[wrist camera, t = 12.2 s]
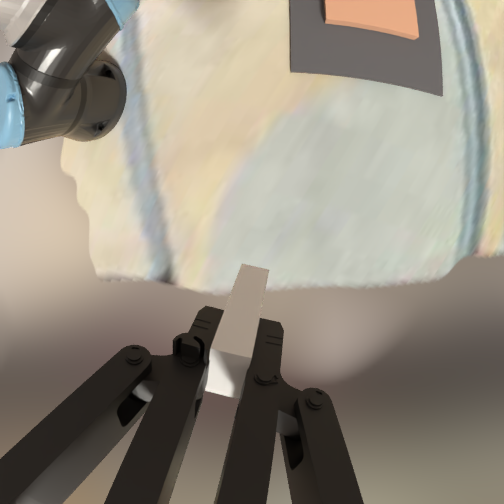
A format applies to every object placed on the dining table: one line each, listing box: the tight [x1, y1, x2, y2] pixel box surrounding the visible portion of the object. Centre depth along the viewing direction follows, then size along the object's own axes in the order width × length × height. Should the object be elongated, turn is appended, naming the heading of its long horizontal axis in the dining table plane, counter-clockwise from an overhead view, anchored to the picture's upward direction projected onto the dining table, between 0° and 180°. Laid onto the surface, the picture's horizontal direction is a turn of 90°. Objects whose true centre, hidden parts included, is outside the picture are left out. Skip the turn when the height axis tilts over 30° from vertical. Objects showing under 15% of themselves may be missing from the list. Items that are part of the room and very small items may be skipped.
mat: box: [290, 0, 443, 96], centre depth 27 cm, size 24×28×1 cm
